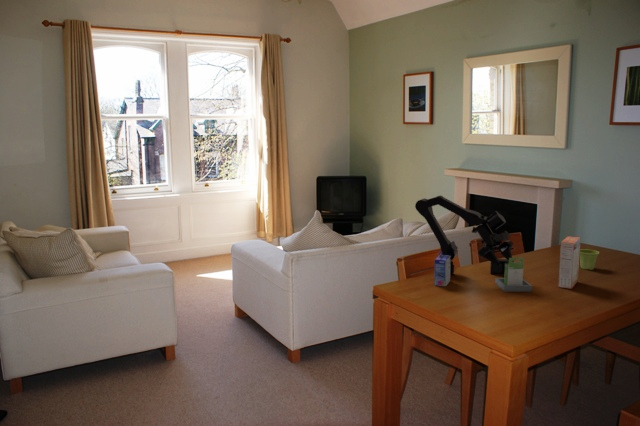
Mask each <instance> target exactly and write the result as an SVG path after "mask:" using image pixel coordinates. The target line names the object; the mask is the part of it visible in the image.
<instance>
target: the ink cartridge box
mask: <svg viewBox="0 0 640 426" xmlns="http://www.w3.org/2000/svg"><path fill="white" fill-rule="evenodd" d="M450 281H451V275H450V255H442V252H441V250H440V251H439V252H438V256H437V257H435V259H434V286H438V287H447V285H448V284H449V283H451V282H450Z"/></svg>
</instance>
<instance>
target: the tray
mask: <svg viewBox="0 0 640 426" xmlns="http://www.w3.org/2000/svg"><path fill="white" fill-rule="evenodd" d="M494 281H495V285H496V286H498V287H499V288H500V289H501V290H502V291H503V292H506V293H507V292H512V293H513V292H514V293H516V292H519V293H520V292H521V293H522V292H527V293H528V292H531V293H532V292H533V285H532V284H530V283H529V282H528V281H527V280H525V279H524V278H523V283H522V285H505V284H504V277H496V278H495V280H494Z"/></svg>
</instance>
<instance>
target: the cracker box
mask: <svg viewBox="0 0 640 426" xmlns="http://www.w3.org/2000/svg"><path fill="white" fill-rule="evenodd" d="M580 250H581V237H577V236H570V235H569V236H566V237H565V238H564V239H563V240H561V242H560V250H559V252H560V253H559V255H560V256H559V272H558V273H559V274H558V288H562V289H567V290H568V289H569V290H572V289H573V288H574V287H575V285H576V284H577V283H578V280H579V266H580V264H579V263H580V255H579V253H580Z"/></svg>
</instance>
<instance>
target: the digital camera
mask: <svg viewBox="0 0 640 426" xmlns="http://www.w3.org/2000/svg"><path fill="white" fill-rule="evenodd" d="M497 259H498V261H499V263H500V266H497V265H496V264H494V263H492V262H491V261H490V272H489V273H490V275H495V276H497V275H498V276H504V273H505V264H509V261H508V260H507V259H506V258H505V259H503V258H497ZM513 262H515V260H513Z"/></svg>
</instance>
